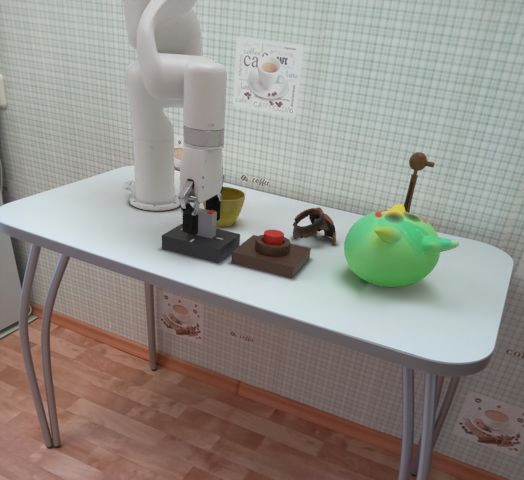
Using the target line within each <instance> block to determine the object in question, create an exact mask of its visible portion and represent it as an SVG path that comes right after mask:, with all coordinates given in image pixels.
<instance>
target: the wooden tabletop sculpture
mask: <svg viewBox="0 0 524 480" xmlns="http://www.w3.org/2000/svg"><path fill="white" fill-rule="evenodd" d="M408 166H409V167H410V169H411V170H413V173H411V174H410V178H409V179H410V180H409V184H408V188H407V191H406V196H405V199H404V203H403V206H404V208H405V211H406V212H409V213H410V210H411V206H412V202H413V196H414V192H415V188H416V185H417V181H418V177H419V175H418V171H422V170H424V169H425V168H426V167H428V168H434V166H435V162H434V161H429V160H428V157H427V156H426V154H425V153H423V152H421V151H416V152H414V153H412V155H411V156H410V157H409V160H408Z"/></svg>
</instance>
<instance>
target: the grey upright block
mask: <svg viewBox="0 0 524 480" xmlns="http://www.w3.org/2000/svg"><path fill="white" fill-rule="evenodd" d="M196 214H198V215H199V216H198V234H197V236H202V237H206V238H210V239H212V238H213V237H215V236H216V228H217V226H216V222H217V212H216V211H214V210H206V209H204V208H201V207H199V208H198V210H197V213H196ZM189 234H190V233H189ZM193 235H194V234H193Z"/></svg>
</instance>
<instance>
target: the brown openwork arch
mask: <svg viewBox="0 0 524 480" xmlns="http://www.w3.org/2000/svg"><path fill="white" fill-rule="evenodd" d="M305 218H308V219H309V221H310V223H311V224H307V225H304V226H301V225H298V224H299V223H300V222H301V221H303V220H304V219H305ZM292 226H293V229H292V230H293V231H292V237H293V239H294V240H295V239H297V238H299V239H303V238H304V239H307V238H311V237H313V238H316V239H318V233H319V232H321V231H323V236H324V237H325V238H330V239H332V244H333V246H335V245H336V244H337V232H336V228H335V227H336V226H335V224H334V221H333V219H332V218H331V217H330V215H328V214H327V213H325V212H324V211H323V209H322V208H321V207H312V208H308V209H305V210H303V211H302V212H299V214H297V215H296V216H295V218H294V222H293V223H292Z"/></svg>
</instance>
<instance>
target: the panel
mask: <svg viewBox="0 0 524 480" xmlns="http://www.w3.org/2000/svg"><path fill="white" fill-rule="evenodd" d="M240 245H241V233H238V232H233V231H229V230H224V229H220V228H218V227H216V236H215V237H213V238H212V239H210V238H206V237H202V236H197V235H193V234H189V233H185V232H183V222H182V223H181V224H178V225H176V226H175V227H174V228H171V229H170V230H168V231H167V232H164V233H163V234H162V235H161V249H162V250H164V251H167V252H173V253H175V254H180V255H183V256H187V257H192V258H195V259H198V260H204V261H206V262H211V263H214V264H221V263H222V262H223V261H224V260H225V259H227V258H228V257H229V256H230V255H232V251H234V250H235V249H236V248H237V247H239V246H240Z"/></svg>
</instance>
